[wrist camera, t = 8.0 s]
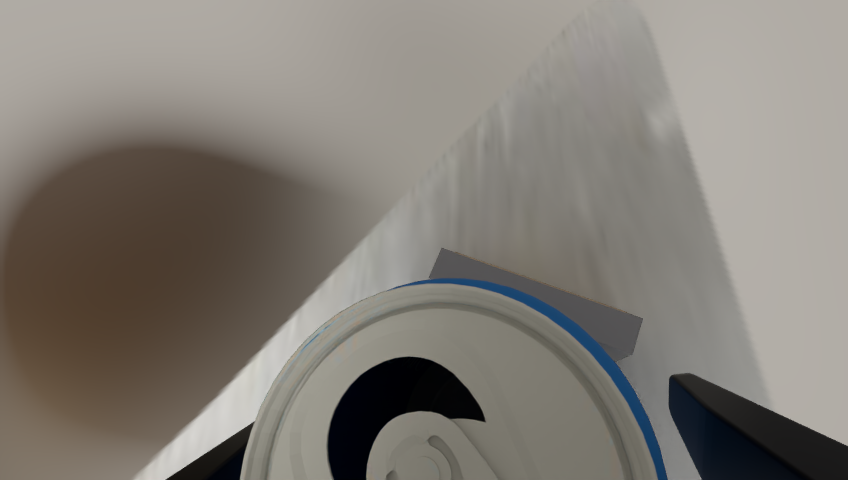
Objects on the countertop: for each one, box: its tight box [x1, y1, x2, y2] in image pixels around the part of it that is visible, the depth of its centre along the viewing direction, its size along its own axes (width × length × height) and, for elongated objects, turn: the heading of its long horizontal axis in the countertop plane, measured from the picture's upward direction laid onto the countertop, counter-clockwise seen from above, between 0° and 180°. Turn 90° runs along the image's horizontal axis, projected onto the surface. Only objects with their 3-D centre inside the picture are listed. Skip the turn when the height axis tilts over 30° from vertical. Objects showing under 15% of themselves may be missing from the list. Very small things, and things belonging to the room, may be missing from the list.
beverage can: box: [240, 278, 668, 480], centre depth 11 cm, size 6×6×12 cm
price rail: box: [429, 248, 643, 362], centre depth 16 cm, size 7×1×4 cm, turn 66°
